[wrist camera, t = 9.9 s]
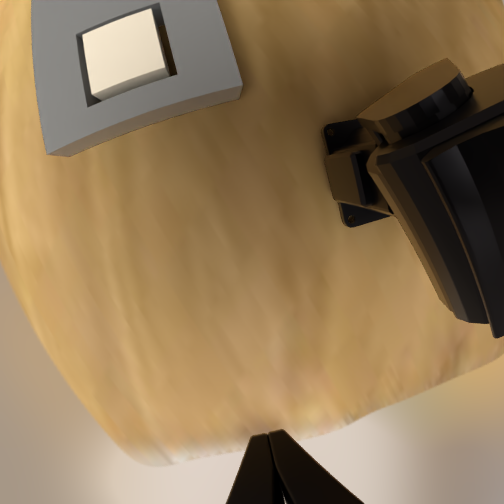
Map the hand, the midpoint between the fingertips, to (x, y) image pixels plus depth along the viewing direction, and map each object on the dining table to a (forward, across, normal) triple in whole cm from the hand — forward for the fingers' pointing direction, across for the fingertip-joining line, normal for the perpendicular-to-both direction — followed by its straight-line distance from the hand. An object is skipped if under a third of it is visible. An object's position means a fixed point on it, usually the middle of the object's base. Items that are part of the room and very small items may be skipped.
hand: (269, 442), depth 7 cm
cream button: (+13, +3, -14) cm, 20 cm away
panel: (+13, +4, -22) cm, 26 cm away
